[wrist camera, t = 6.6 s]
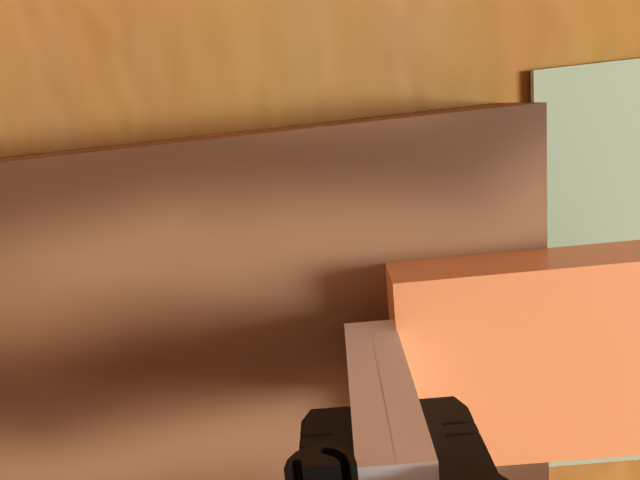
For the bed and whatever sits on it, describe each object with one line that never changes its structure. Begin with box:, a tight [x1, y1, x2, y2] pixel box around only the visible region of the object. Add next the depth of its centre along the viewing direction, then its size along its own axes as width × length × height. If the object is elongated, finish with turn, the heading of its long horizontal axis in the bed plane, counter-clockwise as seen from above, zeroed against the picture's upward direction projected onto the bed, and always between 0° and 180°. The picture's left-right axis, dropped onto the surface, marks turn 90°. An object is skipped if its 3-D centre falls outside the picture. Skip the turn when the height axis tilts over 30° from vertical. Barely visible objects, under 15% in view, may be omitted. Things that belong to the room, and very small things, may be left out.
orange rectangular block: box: [385, 240, 640, 466], centre depth 16 cm, size 6×9×2 cm, turn 96°
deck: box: [0, 102, 549, 480], centre depth 19 cm, size 14×24×4 cm, turn 96°
